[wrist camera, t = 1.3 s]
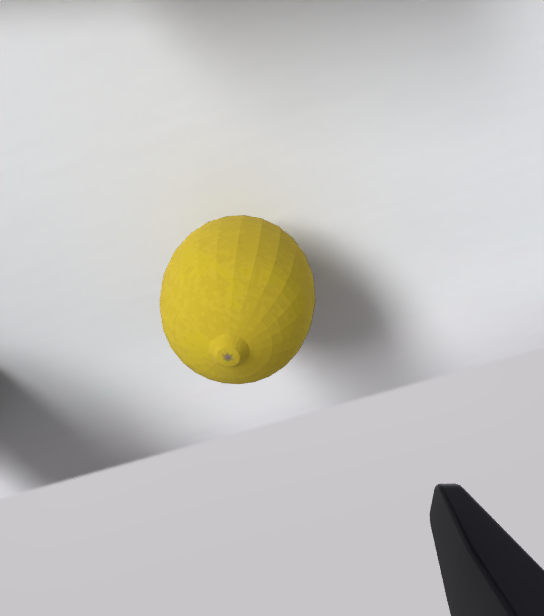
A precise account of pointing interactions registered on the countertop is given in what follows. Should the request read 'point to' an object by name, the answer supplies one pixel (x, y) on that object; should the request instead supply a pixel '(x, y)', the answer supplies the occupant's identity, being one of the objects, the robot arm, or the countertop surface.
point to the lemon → (237, 299)
